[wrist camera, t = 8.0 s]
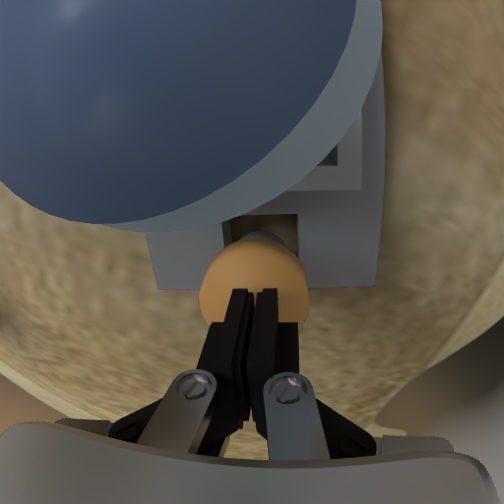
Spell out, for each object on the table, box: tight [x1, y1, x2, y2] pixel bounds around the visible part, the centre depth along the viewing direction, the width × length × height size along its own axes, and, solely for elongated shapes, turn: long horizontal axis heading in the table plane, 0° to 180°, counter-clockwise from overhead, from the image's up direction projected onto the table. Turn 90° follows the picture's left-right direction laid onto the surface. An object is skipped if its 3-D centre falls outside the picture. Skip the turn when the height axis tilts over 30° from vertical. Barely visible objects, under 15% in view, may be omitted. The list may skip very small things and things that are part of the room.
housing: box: [145, 51, 385, 290], centre depth 13 cm, size 22×13×6 cm, turn 4°
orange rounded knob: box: [199, 231, 309, 330], centre depth 14 cm, size 4×4×4 cm
